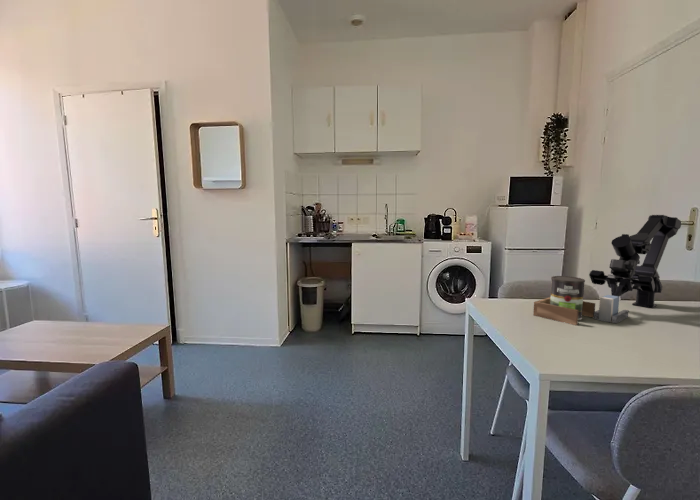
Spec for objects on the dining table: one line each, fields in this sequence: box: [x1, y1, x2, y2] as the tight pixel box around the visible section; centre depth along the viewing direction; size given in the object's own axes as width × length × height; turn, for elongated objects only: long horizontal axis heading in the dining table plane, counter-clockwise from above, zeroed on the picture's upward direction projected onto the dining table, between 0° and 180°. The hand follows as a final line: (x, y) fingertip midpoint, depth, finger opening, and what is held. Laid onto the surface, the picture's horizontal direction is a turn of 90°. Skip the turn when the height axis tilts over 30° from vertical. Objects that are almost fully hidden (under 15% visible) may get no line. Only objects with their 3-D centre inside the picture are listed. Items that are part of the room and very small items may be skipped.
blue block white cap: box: [597, 294, 620, 323], centre depth 125 cm, size 7×4×8 cm, turn 126°
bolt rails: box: [592, 309, 630, 324], centre depth 126 cm, size 12×7×2 cm, turn 126°
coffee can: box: [549, 275, 586, 321], centre depth 128 cm, size 10×10×14 cm
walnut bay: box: [532, 296, 596, 326], centre depth 129 cm, size 15×14×5 cm
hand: (613, 298), depth 126 cm, fingers closed, pressing on blue block white cap
